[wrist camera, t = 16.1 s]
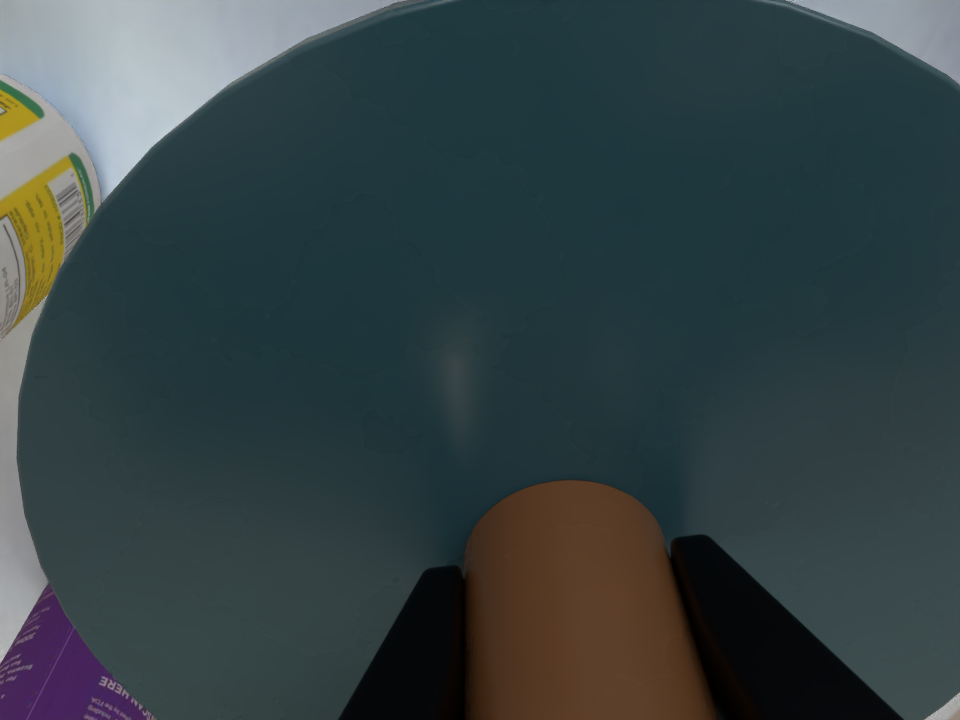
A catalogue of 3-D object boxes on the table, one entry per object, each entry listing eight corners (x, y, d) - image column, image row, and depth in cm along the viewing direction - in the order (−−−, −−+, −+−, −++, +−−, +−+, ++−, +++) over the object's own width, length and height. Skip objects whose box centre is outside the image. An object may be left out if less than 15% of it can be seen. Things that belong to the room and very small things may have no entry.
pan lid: (1196, -147, 7) (2396, -191, 3) (968, 734, 13) (1212, 1146, 9) (-156, 82, 8) (-940, 336, 3) (236, 811, 14) (135, 1226, 10)
